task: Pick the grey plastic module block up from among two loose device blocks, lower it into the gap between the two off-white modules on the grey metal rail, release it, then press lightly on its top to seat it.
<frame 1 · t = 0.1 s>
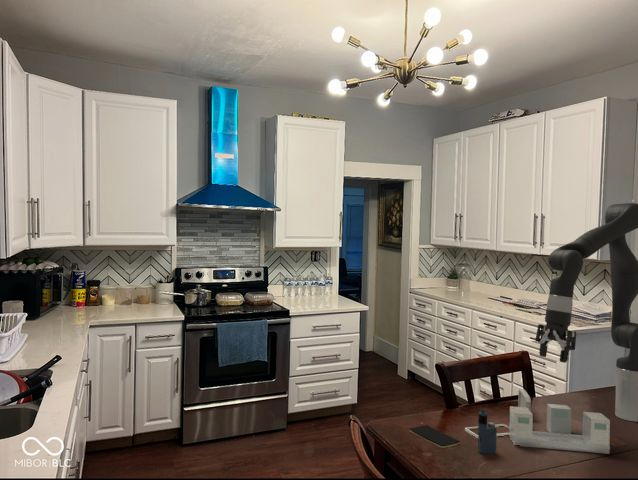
hand: (552, 359, 160), 22 cm above the table, tool pointing down, fingers open, 8 cm apart
grey relay block: (519, 425, 161), on the table
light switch: (524, 415, 172), on the table
vaping device: (486, 452, 139), on the table
smartphone: (433, 439, 149), on the table
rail: (557, 445, 146), on the table
teal junction block: (590, 438, 152), on the table
white rectangular frame: (491, 434, 154), on the table
grey module: (558, 431, 157), on the table
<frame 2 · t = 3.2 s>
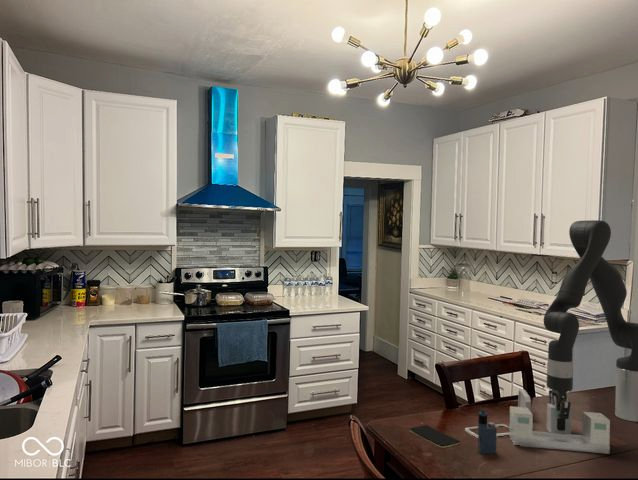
hand: (558, 427, 157), 1 cm above the table, tool pointing down, fingers closed on grey module, 4 cm apart
grey module: (558, 431, 157), on the table, touching gripper
everything else where it was.
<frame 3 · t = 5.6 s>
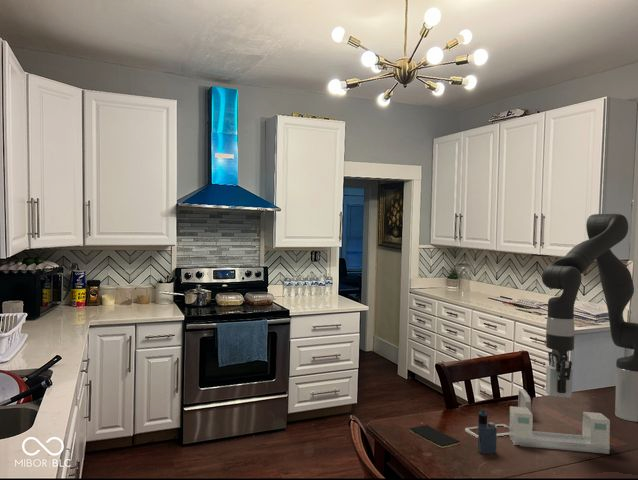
hand: (558, 390, 146), 16 cm above the table, tool pointing down, fingers closed on grey module, 4 cm apart
grey module: (558, 394, 146), point 15 cm above the table, touching gripper
everything else where it was.
when the fingers open (4 cm above the table, at t = 8.0 s): grey module drops 1 cm, resting on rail.
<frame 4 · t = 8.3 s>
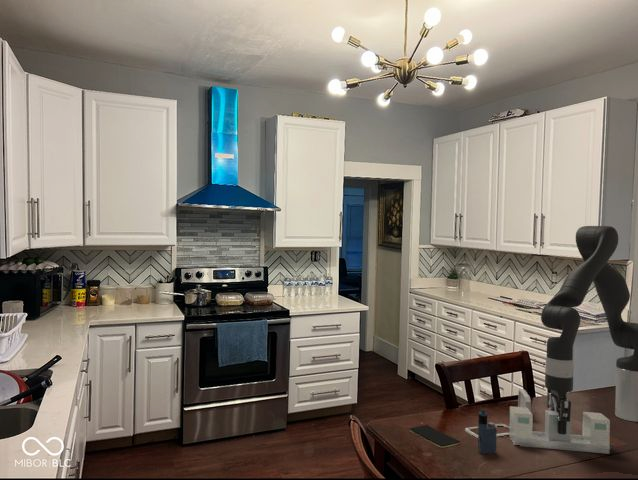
hand: (557, 429, 146), 5 cm above the table, tool pointing down, fingers open, 6 cm apart
grey module: (557, 440, 145), point 1 cm above the table, touching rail
everything else where it was.
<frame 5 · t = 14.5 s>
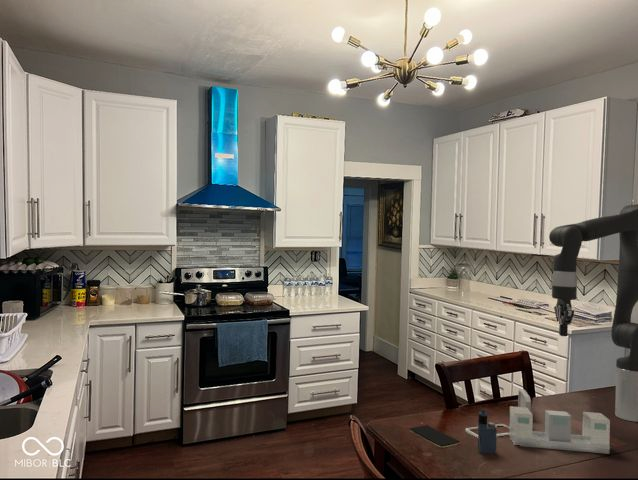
hand: (563, 335, 166), 29 cm above the table, tool pointing down, fingers closed
nothing on the table moved.
at the end: grey module inside the target area on the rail (0.1 cm from its centre), point 1.5 cm above the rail's base; grey module tilted 0°; the gripper is holding nothing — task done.
